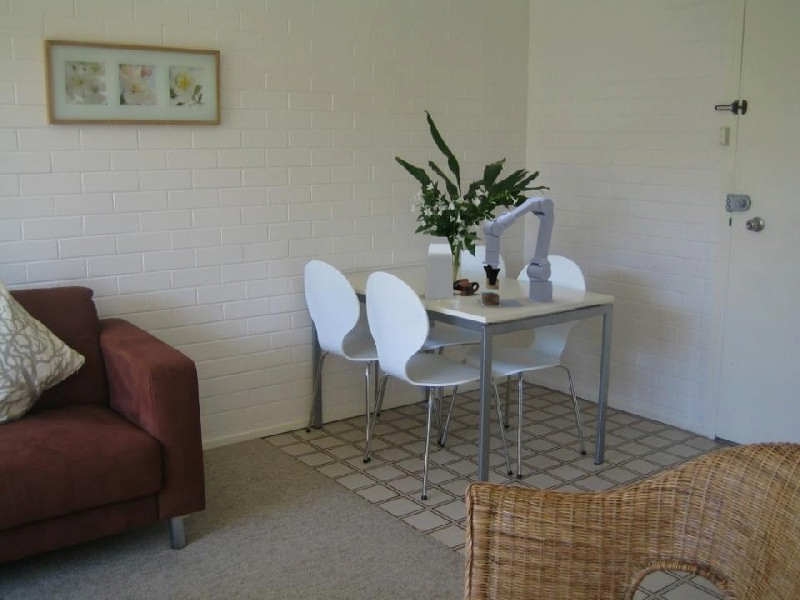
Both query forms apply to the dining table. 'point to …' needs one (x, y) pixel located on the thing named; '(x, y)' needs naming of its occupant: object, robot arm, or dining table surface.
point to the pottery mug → (465, 287)
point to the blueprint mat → (504, 303)
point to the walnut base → (490, 299)
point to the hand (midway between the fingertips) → (491, 284)
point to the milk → (439, 270)
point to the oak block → (492, 287)
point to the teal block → (486, 292)
